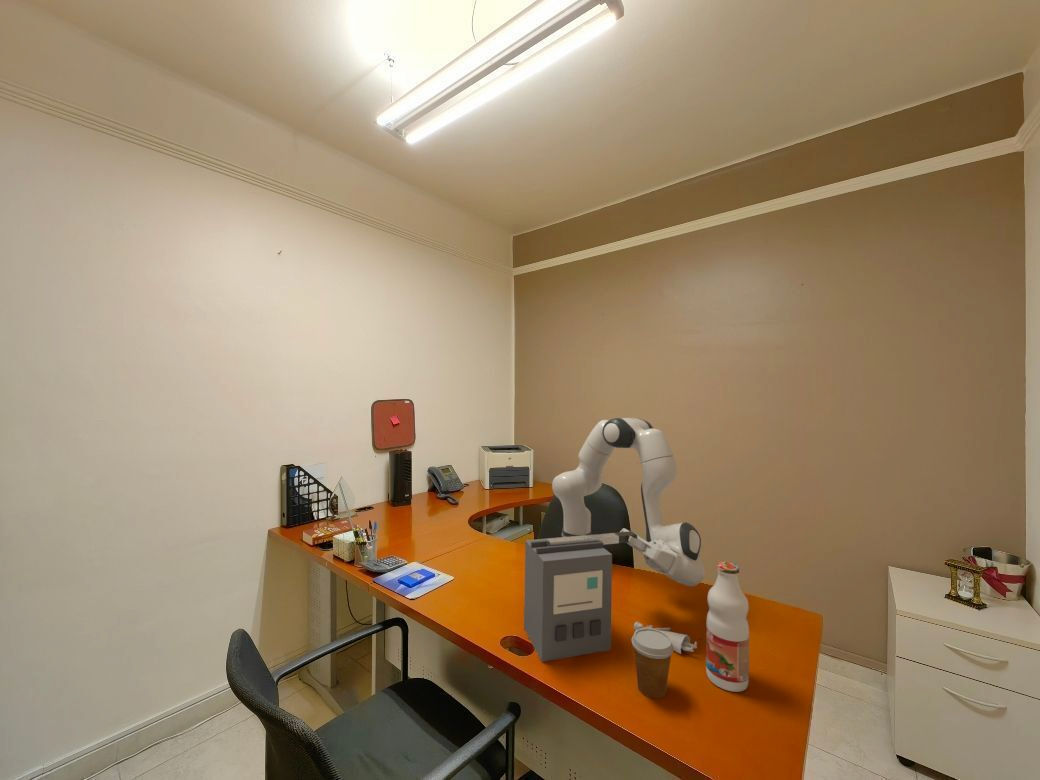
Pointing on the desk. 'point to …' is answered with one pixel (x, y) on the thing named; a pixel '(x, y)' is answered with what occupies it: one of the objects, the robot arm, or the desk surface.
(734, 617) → the fruit juice
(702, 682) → the desk surface
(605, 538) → the bar
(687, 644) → the woman figurine
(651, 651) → the disposable coffee cup
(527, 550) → the grey grooved block
